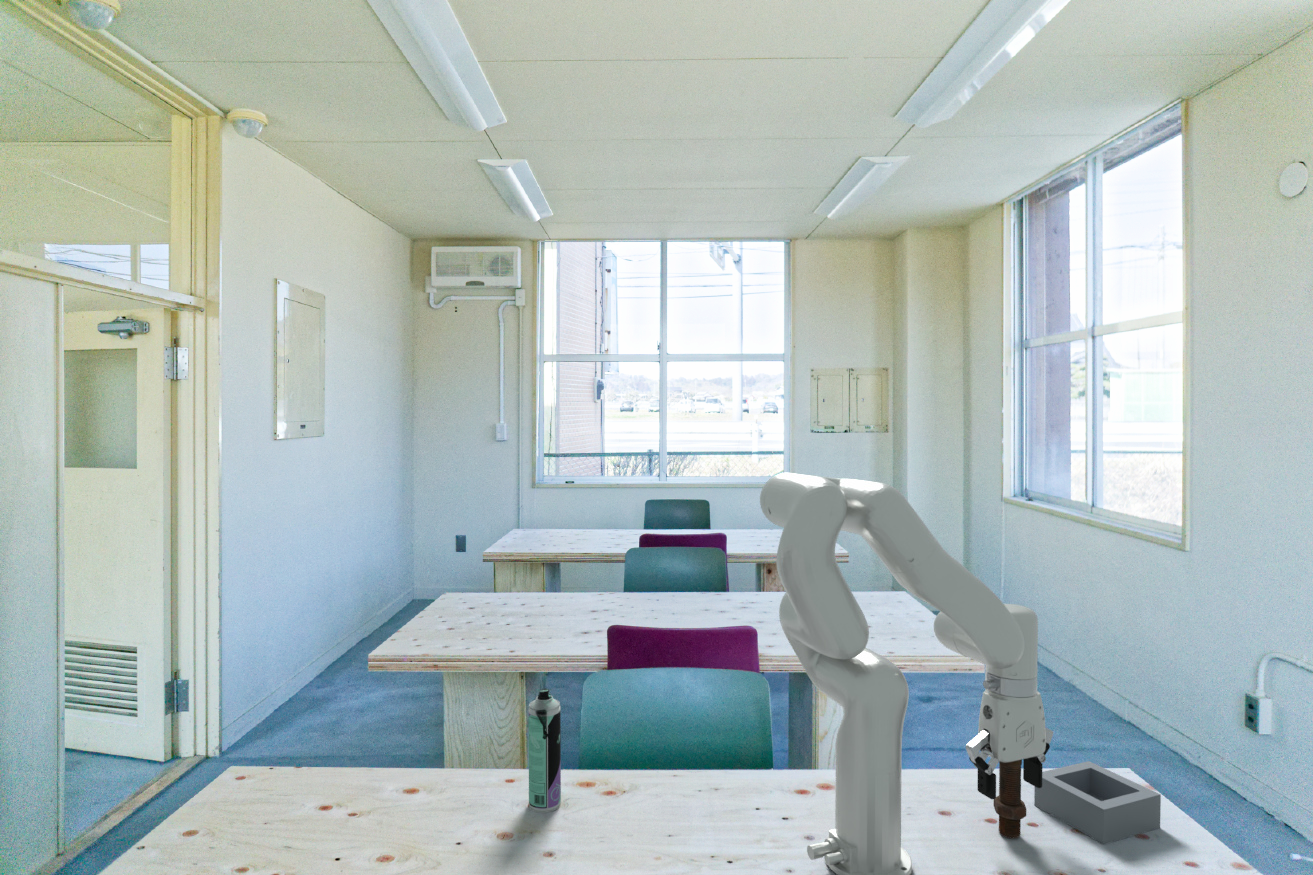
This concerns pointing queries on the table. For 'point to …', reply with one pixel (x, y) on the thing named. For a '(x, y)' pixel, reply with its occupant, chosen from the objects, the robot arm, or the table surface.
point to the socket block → (1098, 802)
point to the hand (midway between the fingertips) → (1009, 789)
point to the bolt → (1010, 799)
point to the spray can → (544, 753)
